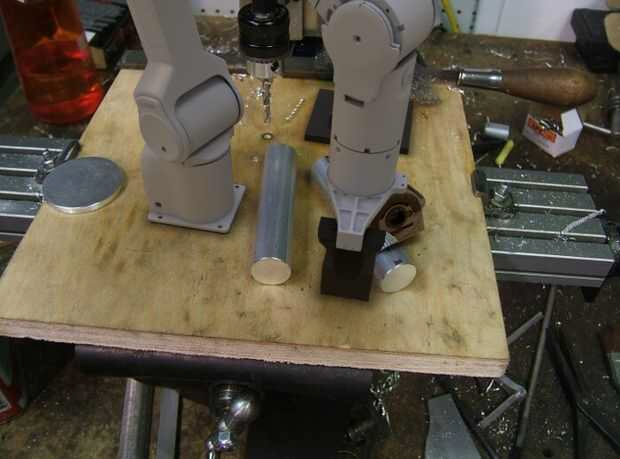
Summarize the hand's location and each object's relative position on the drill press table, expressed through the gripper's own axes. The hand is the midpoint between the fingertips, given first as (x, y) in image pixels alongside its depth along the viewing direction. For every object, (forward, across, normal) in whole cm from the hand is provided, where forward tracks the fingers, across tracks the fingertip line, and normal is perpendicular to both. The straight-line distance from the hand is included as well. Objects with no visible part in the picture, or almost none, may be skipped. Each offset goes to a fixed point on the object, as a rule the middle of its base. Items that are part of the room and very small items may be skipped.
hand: (351, 247), depth 55 cm
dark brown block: (+5, 0, 0) cm, 5 cm away
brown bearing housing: (+6, +11, -2) cm, 12 cm away
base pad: (+5, +30, +2) cm, 30 cm away
